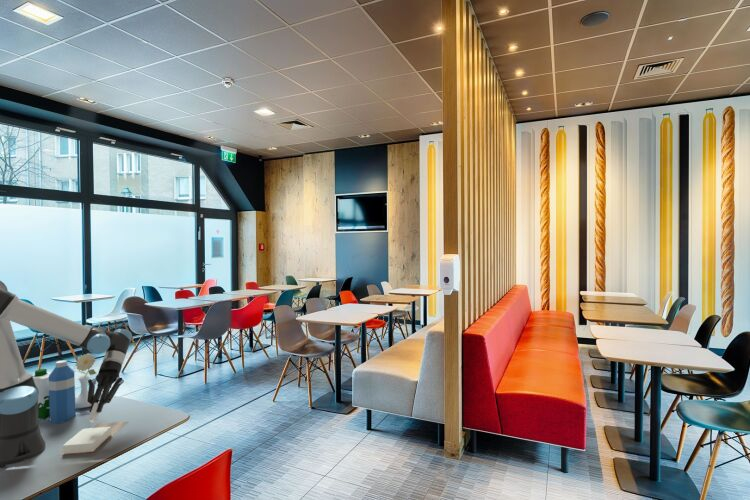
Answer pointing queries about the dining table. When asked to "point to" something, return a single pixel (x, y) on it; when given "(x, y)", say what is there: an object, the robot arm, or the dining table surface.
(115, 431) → the walnut board
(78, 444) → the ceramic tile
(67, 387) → the water bottle
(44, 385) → the milk carton
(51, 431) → the dining table surface
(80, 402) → the flower in vase
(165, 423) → the dining table surface
